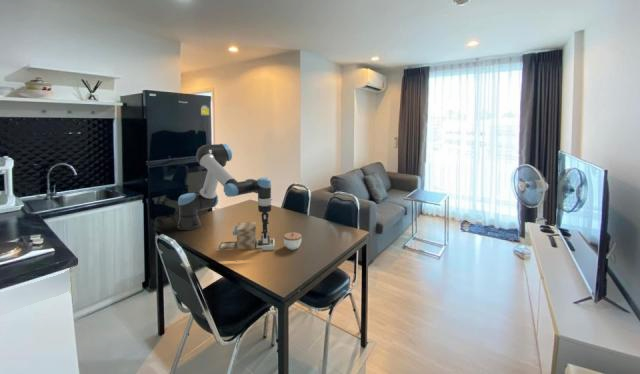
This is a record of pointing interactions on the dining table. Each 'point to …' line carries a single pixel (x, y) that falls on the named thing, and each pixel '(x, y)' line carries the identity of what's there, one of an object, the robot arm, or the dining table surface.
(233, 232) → the slide cover
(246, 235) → the brown patterned stepped stand
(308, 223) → the dining table surface
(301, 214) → the dining table surface
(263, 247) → the tray
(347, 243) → the dining table surface
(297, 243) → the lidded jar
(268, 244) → the treat block
